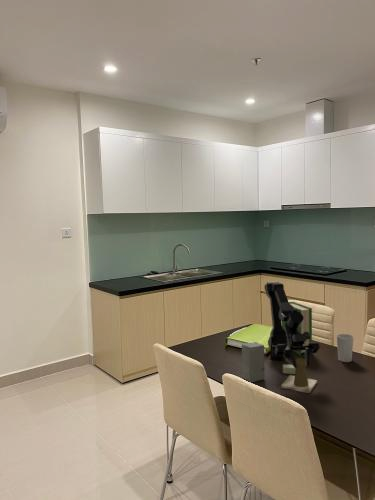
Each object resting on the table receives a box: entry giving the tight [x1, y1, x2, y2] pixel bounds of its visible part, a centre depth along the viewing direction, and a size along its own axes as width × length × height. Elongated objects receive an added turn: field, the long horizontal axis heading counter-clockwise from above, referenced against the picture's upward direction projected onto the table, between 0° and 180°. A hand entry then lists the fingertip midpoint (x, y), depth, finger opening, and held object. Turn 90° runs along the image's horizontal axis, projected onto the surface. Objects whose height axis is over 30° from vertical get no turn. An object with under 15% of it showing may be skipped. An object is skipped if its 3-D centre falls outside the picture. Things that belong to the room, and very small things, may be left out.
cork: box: [294, 357, 309, 387], centre depth 169 cm, size 6×6×11 cm
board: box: [280, 374, 318, 394], centre depth 171 cm, size 12×12×1 cm
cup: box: [336, 333, 355, 363], centre depth 198 cm, size 8×8×12 cm
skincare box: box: [241, 341, 265, 383], centre depth 179 cm, size 8×7×16 cm
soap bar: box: [282, 364, 296, 375], centre depth 185 cm, size 6×4×3 cm, turn 77°
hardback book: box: [281, 301, 313, 355], centre depth 216 cm, size 18×7×24 cm, turn 17°
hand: (302, 367), depth 168 cm, fingers open, 5 cm apart
